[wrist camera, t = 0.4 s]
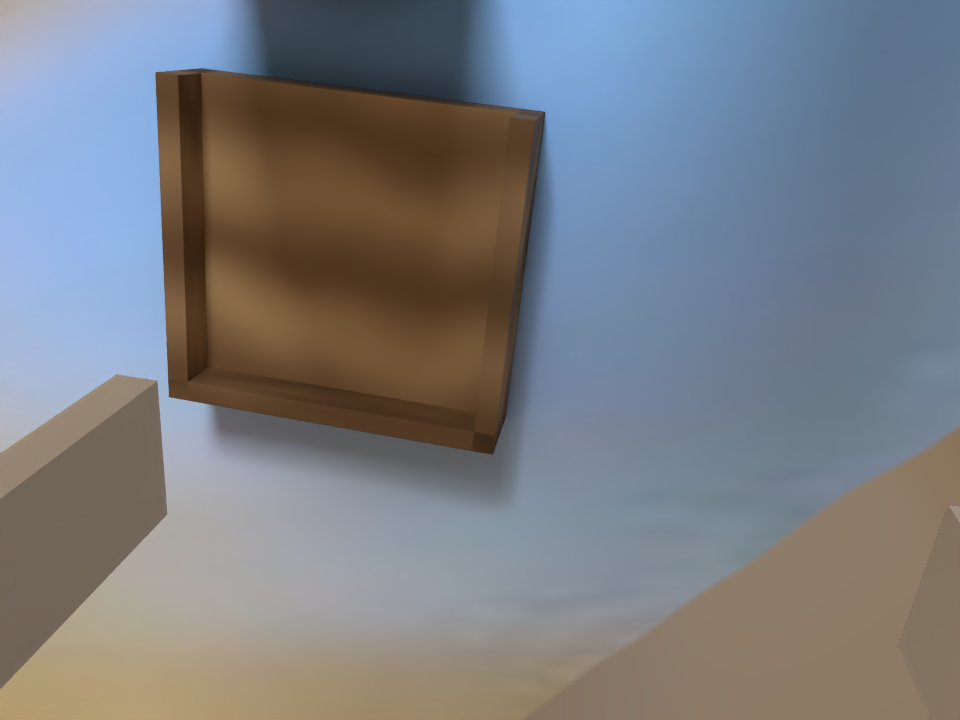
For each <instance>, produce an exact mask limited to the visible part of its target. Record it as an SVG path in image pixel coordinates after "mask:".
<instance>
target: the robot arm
mask: <svg viewBox="0 0 960 720" xmlns="http://www.w3.org/2000/svg"><path fill="white" fill-rule="evenodd" d="M166 515H167V504H166V491H165V477H164V464H163V450H162V437H161V423H160V410H159V397H158V383H157V381H155V380H149V379H142V378H136V377H129V376H123V375H115V376H114V377H112V378H111V379H109V380H108V381H106V382H105V383H104V384H102V385H101V386H99V387H98V388H96V389H95V390H93V391H92V392H90V393H89V394H87V395H86V396H84V397H83V398H81V399H80V400H79V401H77V402H76V403H74V404H73V405H71V406H70V407H68V408H67V409H65V410H64V411H62V412H61V413H59V414H58V415H56V416H55V417H53V418H52V419H51V420H49V421H48V422H46V423H45V424H43V425H42V426H40V427H39V428H37V429H36V430H34V431H33V432H31V433H30V434H28V435H27V436H26V437H24V438H23V439H21V440H20V441H18V442H17V443H15V444H14V445H12V446H11V447H9V448H8V449H6V450H5V451H3V452H2V453H1V454H0V689H1V688H2V687H3V686H4V685H5V684H6V683H7V682H8V681H9V680H10V679H11V678H12V677H13V675H14V674H15V673H16V672H17V671H18V670H19V669H20V668H21V667H22V666H23V665H24V664H25V663H26V662H27V661H28V660H29V659H30V658H31V657H32V656H33V654H34V653H35V652H36V651H37V650H38V649H39V648H40V647H41V646H42V645H43V644H44V643H45V642H46V641H47V640H48V639H49V638H50V637H51V636H52V635H53V634H54V632H55V631H56V630H57V629H58V628H59V627H60V626H61V625H62V624H63V623H64V622H65V621H66V620H67V619H68V618H69V617H70V616H71V615H72V614H73V613H74V612H75V610H76V609H77V608H78V607H79V606H80V605H81V604H82V603H83V602H84V601H85V600H86V599H87V598H88V597H89V596H90V595H91V594H92V593H93V592H94V591H95V589H96V588H97V587H98V586H99V585H100V584H101V583H102V582H103V581H104V580H105V579H106V578H107V577H108V576H109V575H110V574H111V573H112V572H113V571H114V570H115V569H116V567H117V566H118V565H119V564H120V563H121V562H122V561H123V560H124V559H125V558H126V557H127V556H128V555H129V554H130V553H131V552H132V551H133V550H134V549H135V548H136V547H137V545H138V544H139V543H140V542H141V541H142V540H143V539H144V538H145V537H146V536H147V535H148V534H149V533H150V532H151V531H152V530H153V529H154V528H155V527H156V526H157V524H158V523H159V522H160V521H161V520H162V519H163V518H164V517H165V516H166ZM899 647H900V649H901V651H902V654H903V656H904V658H905V661H906V663H907V666H908V668H909V671H910V673H911V675H912V678H913V680H914V683H915V685H916V687H917V690H918V692H919V695H920V697H921V699H922V702H923V704H924V707H925V709H926V711H927V714H928V716H929V719H930V720H960V507H959V506H953V505H948V506H947V509H946V512H945V515H944V518H943V521H942V524H941V526H940V529H939V532H938V535H937V537H936V541H935V544H934V546H933V549H932V552H931V554H930V557H929V560H928V563H927V566H926V569H925V572H924V574H923V577H922V580H921V583H920V586H919V589H918V591H917V594H916V597H915V600H914V603H913V605H912V608H911V611H910V614H909V617H908V620H907V622H906V625H905V628H904V631H903V634H902V637H901V639H900V643H899Z"/></svg>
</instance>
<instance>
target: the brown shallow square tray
mask: <svg viewBox="0 0 960 720" xmlns="http://www.w3.org/2000/svg"><path fill="white" fill-rule="evenodd" d="M156 96H157V120H158V144H159V168H160V192H161V216H162V240H163V264H164V288H165V311H166V335H167V359H168V383H169V397H171V398H177V399H183V400H188V401H194V402H200V403H205V404H211V405H217V406H222V407H228V408H233V409H239V410H245V411H250V412H256V413H262V414H267V415H273V416H278V417H284V418H290V419H295V420H301V421H307V422H312V423H318V424H323V425H329V426H335V427H340V428H346V429H352V430H357V431H363V432H369V433H374V434H380V435H385V436H391V437H397V438H402V439H408V440H414V441H419V442H425V443H430V444H436V445H442V446H447V447H453V448H459V449H464V450H470V451H475V452H481V453H487V454H492V455H493V453H494V450H495V447H496V444H497V441H498V438H499V435H500V432H501V429H502V426H503V423H504V420H505V416H506V409H507V401H508V393H509V386H510V378H511V370H512V362H513V355H514V347H515V339H516V332H517V324H518V316H519V309H520V301H521V293H522V285H523V278H524V270H525V262H526V255H527V247H528V239H529V231H530V224H531V216H532V208H533V201H534V193H535V185H536V177H537V170H538V162H539V154H540V147H541V139H542V131H543V123H544V116H545V112H541V111H533V110H526V109H518V108H510V107H502V106H494V105H486V104H478V103H470V102H462V101H455V100H447V99H439V98H431V97H423V96H415V95H407V94H399V93H391V92H383V91H376V90H368V89H360V88H352V87H344V86H336V85H328V84H320V83H312V82H304V81H297V80H289V79H281V78H273V77H265V76H257V75H249V74H241V73H233V72H226V71H218V70H210V69H202V68H201V69H189V70H177V71H166V72H156Z"/></svg>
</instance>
